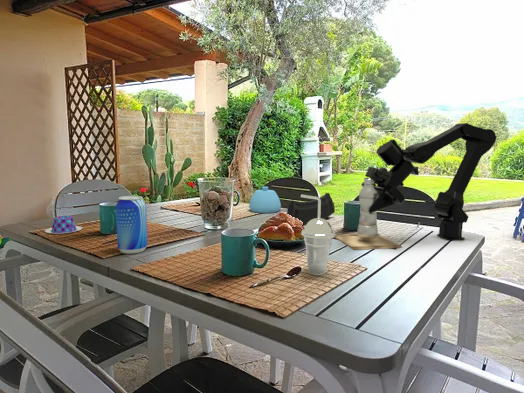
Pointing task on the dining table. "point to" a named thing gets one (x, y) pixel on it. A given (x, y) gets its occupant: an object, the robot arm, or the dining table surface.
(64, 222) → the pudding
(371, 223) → the plastic bottle
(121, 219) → the beer can
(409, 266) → the dining table surface
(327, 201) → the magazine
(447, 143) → the robot arm
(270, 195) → the sugar bowl
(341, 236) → the mat
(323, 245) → the cup with straw
